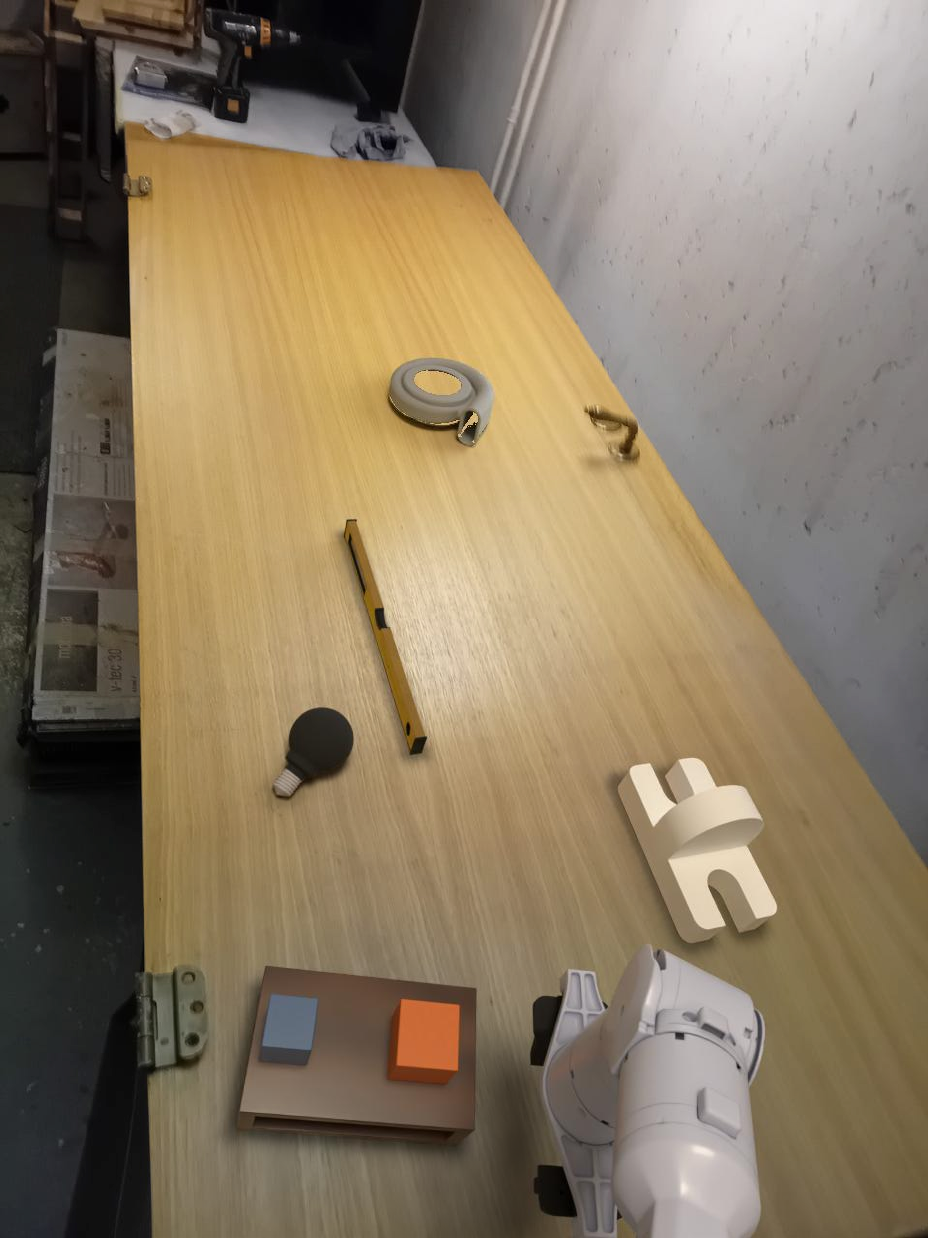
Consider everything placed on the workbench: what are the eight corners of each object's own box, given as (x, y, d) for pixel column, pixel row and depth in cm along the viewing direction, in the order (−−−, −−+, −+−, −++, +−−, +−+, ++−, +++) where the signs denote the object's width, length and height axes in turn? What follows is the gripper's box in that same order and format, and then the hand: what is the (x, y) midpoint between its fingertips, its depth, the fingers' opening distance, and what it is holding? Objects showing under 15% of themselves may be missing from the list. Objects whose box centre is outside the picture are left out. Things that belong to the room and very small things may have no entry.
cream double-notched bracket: (687, 773, 94) (731, 720, 86) (763, 927, 83) (821, 882, 75) (614, 783, 90) (652, 729, 83) (683, 945, 79) (735, 900, 72)
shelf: (456, 1146, 64) (474, 1130, 60) (236, 1129, 61) (238, 1112, 57) (460, 1010, 71) (476, 987, 66) (261, 990, 68) (265, 965, 64)
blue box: (306, 1066, 60) (311, 1051, 57) (258, 1061, 59) (261, 1046, 56) (313, 1015, 62) (319, 998, 59) (267, 1010, 62) (270, 993, 59)
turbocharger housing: (412, 375, 137) (372, 415, 127) (416, 339, 133) (375, 378, 123) (504, 409, 135) (472, 453, 125) (513, 373, 130) (479, 416, 120)
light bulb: (249, 771, 76) (317, 688, 80) (252, 778, 82) (315, 701, 86) (304, 813, 76) (369, 728, 80) (302, 817, 82) (363, 738, 86)
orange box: (446, 1084, 61) (458, 1071, 58) (387, 1079, 61) (396, 1065, 58) (448, 1020, 64) (460, 1004, 61) (392, 1015, 64) (401, 998, 61)
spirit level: (421, 753, 87) (427, 737, 85) (410, 754, 87) (415, 739, 84) (353, 535, 107) (356, 518, 105) (343, 536, 106) (346, 519, 104)
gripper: (702, 1232, 43) (610, 1256, 53) (663, 953, 53) (591, 1016, 63) (574, 1225, 42) (504, 1250, 52) (559, 941, 52) (502, 1007, 62)
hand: (545, 1122), depth 57 cm, fingers open, 7 cm apart
